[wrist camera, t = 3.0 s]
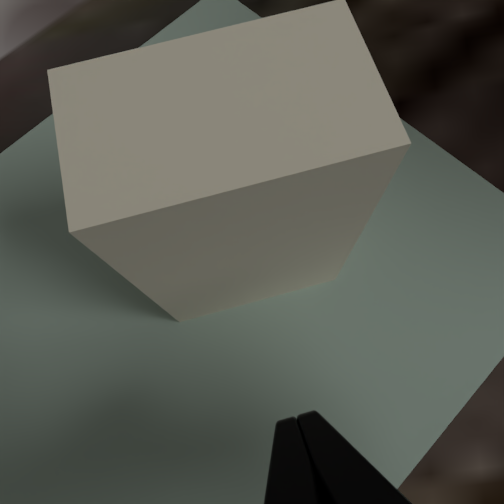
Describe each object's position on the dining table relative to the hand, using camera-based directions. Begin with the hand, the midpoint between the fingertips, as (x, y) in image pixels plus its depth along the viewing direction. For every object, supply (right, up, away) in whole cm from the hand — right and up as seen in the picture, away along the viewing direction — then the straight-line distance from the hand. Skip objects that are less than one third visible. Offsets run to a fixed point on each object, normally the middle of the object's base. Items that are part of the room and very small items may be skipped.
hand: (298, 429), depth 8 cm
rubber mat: (-3, +2, +8) cm, 9 cm away
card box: (-1, +3, +8) cm, 9 cm away
